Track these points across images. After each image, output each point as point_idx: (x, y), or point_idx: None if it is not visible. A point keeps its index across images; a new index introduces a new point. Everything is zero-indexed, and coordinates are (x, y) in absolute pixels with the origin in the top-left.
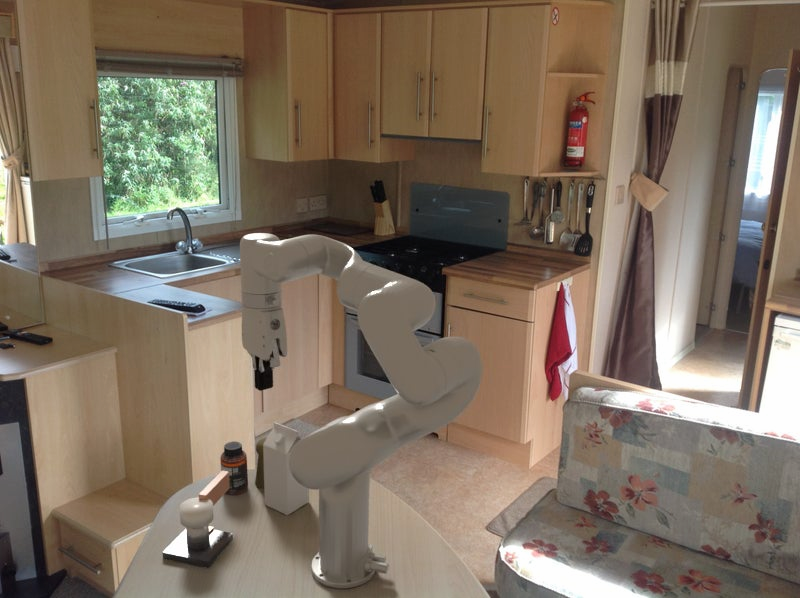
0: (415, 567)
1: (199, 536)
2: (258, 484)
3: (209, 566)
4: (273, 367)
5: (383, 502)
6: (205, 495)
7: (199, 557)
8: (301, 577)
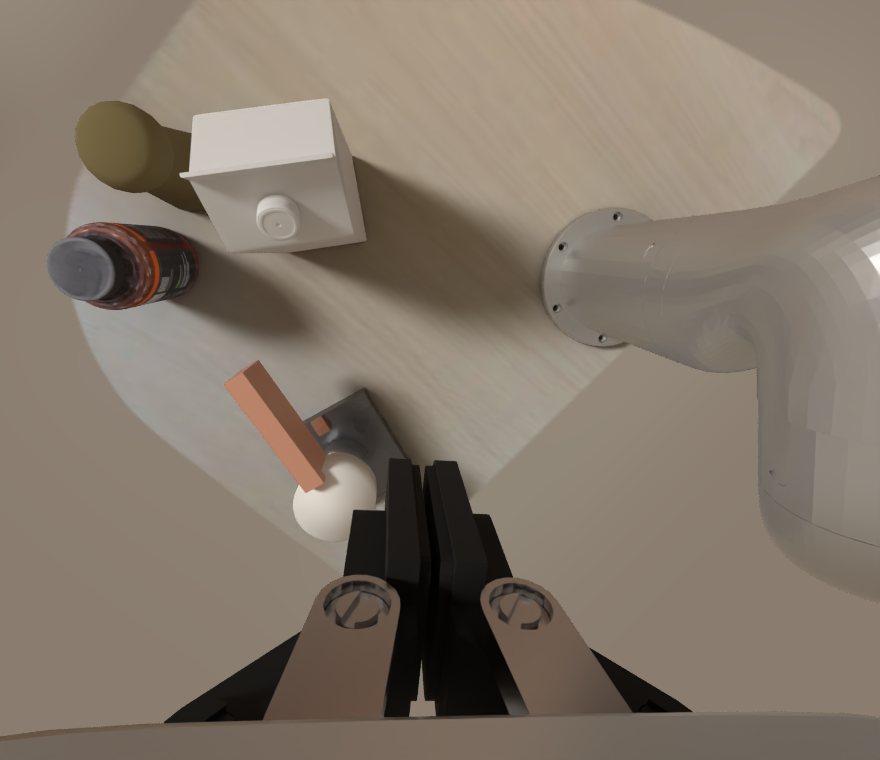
0: (715, 160)
1: None
2: (191, 208)
3: None
4: (558, 616)
5: None
6: (322, 483)
7: None
8: (561, 357)
